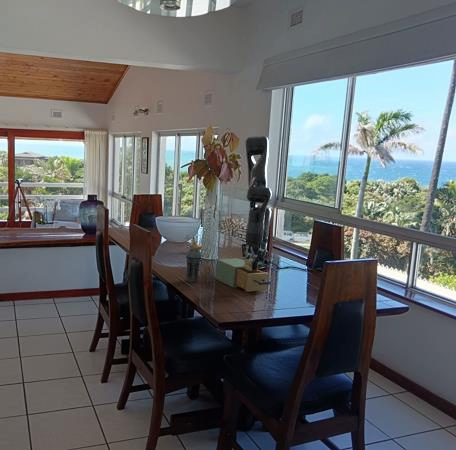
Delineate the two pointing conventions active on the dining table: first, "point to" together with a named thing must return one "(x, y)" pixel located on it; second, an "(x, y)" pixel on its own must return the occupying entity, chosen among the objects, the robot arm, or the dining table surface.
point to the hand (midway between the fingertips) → (250, 268)
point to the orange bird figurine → (193, 244)
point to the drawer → (251, 279)
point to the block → (249, 264)
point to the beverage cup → (193, 263)
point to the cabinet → (228, 270)
